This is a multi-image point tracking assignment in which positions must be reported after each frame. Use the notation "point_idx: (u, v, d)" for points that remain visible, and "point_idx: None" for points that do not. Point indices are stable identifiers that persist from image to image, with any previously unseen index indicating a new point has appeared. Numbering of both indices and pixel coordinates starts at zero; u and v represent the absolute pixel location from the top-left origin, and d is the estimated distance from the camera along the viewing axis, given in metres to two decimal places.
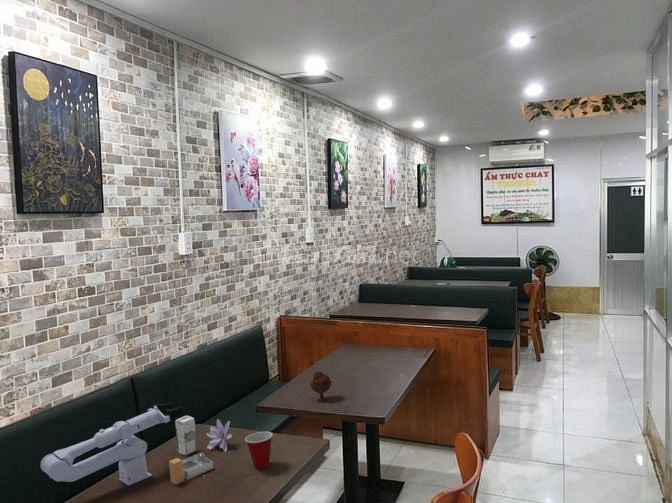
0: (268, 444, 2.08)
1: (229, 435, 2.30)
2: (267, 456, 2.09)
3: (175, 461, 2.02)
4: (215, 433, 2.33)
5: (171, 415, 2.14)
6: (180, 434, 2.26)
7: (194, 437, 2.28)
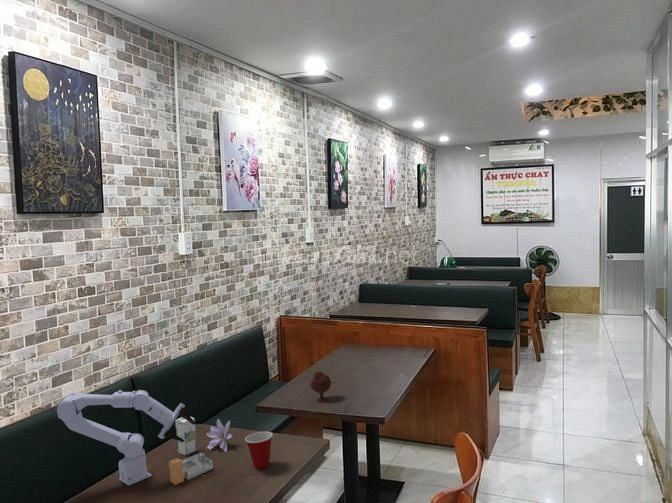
0: (268, 444, 2.08)
1: (229, 435, 2.30)
2: (267, 456, 2.09)
3: (175, 461, 2.02)
4: (215, 433, 2.33)
5: None
6: (180, 434, 2.26)
7: (194, 437, 2.28)
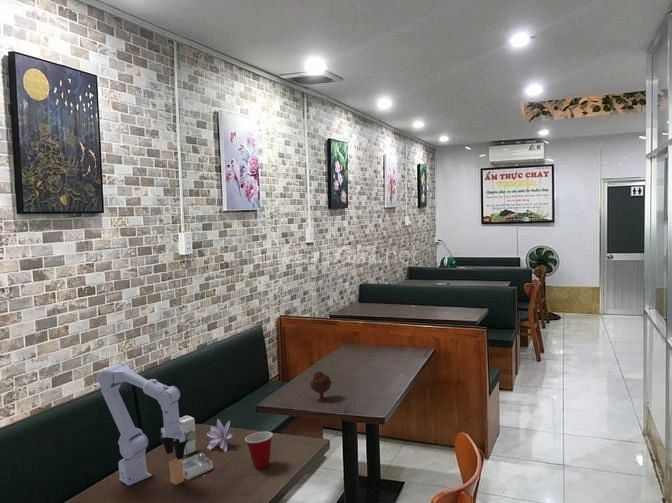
0: (268, 444, 2.08)
1: (229, 435, 2.30)
2: (267, 456, 2.09)
3: (175, 461, 2.02)
4: (215, 433, 2.33)
5: None
6: None
7: (194, 437, 2.28)
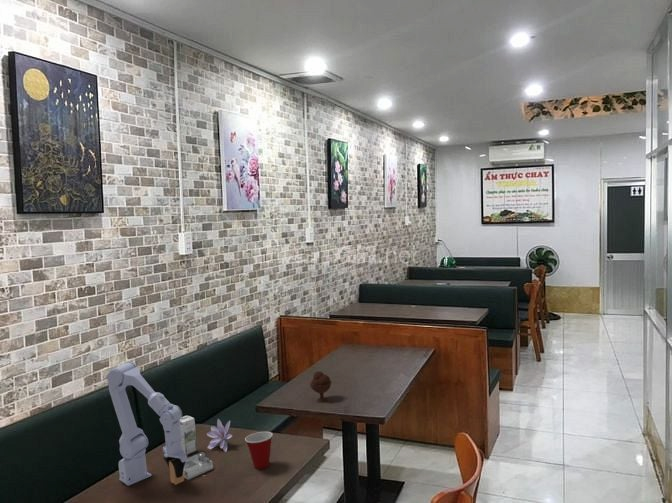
0: (268, 444, 2.08)
1: (229, 435, 2.30)
2: (267, 456, 2.09)
3: None
4: (215, 433, 2.33)
5: None
6: None
7: (194, 437, 2.28)
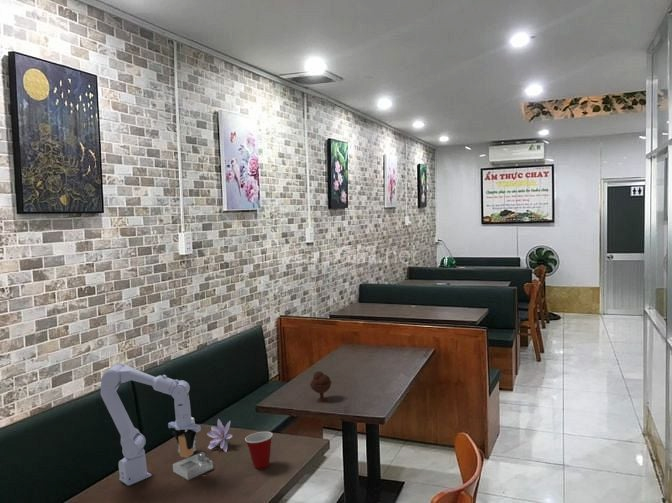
0: (268, 444, 2.08)
1: (229, 435, 2.30)
2: (267, 456, 2.09)
3: None
4: (216, 433, 2.33)
5: None
6: None
7: None
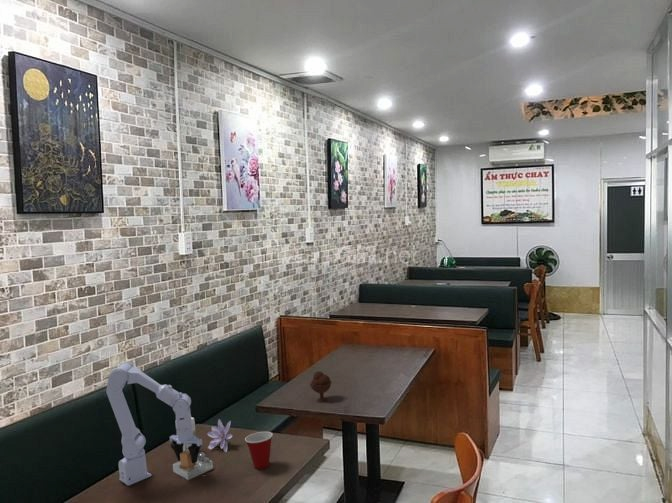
0: (268, 444, 2.08)
1: (230, 435, 2.29)
2: (267, 456, 2.09)
3: (187, 453, 2.09)
4: (216, 433, 2.33)
5: None
6: None
7: None
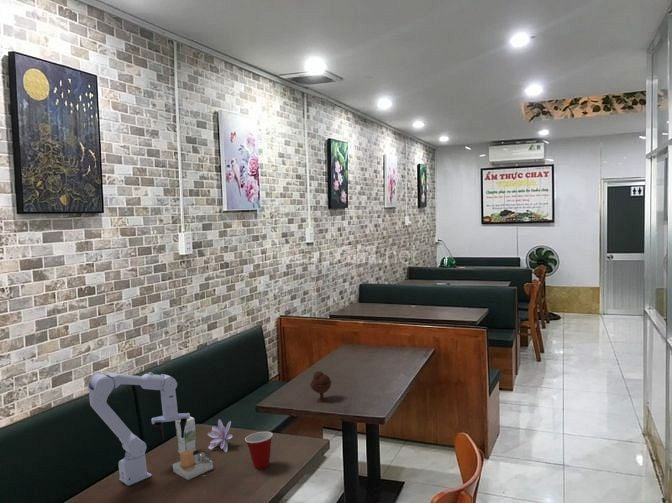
0: (268, 444, 2.08)
1: (230, 435, 2.29)
2: (267, 456, 2.09)
3: (187, 453, 2.09)
4: (216, 433, 2.33)
5: None
6: (180, 434, 2.26)
7: (194, 437, 2.28)
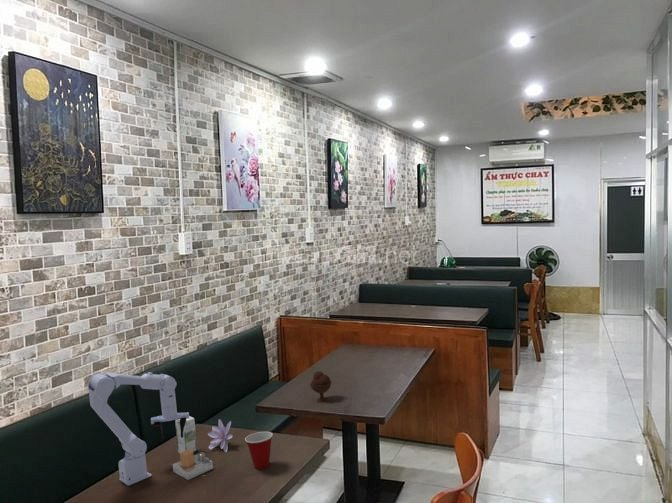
0: (268, 444, 2.08)
1: (230, 436, 2.29)
2: (267, 456, 2.09)
3: (187, 453, 2.09)
4: (216, 433, 2.33)
5: None
6: (180, 434, 2.26)
7: (194, 437, 2.28)
